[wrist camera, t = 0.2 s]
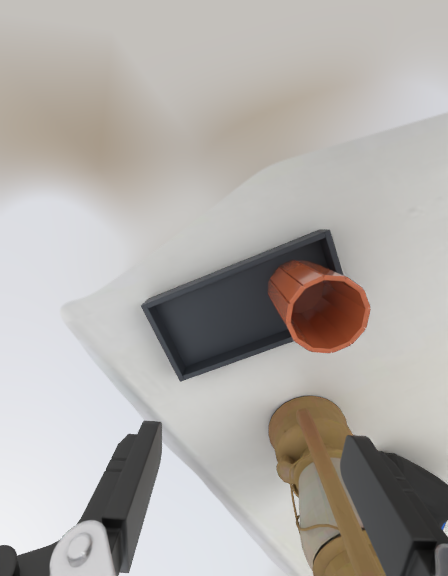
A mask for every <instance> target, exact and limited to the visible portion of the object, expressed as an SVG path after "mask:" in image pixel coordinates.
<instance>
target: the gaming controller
mask: <svg viewBox="0 0 448 576" xmlns="http://www.w3.org/2000/svg"><path fill="white" fill-rule="evenodd" d="M386 455H387V456H388V457H389V458H390V459H391V460H392V461H393V462H394V463H395V464H396V465H397V466H398V468H399V469H400V471H401V472H402V473H403V475H404V476H405V478H406V481H408V482H409V483H410V485H411V486H412V488H413V489H414V492H415V493H417V495H418V496H419V497H420V499H421V500H422V502H423V503H424V505H425V506H426V507H427V509H428V510H429V512H430V513H431V514H432V516H433V517H434V519H435V520H436V522H437V523H438V524H439V526H440V527H441V529H442V530H443V528H444V526H445V524H446V522H447V520H448V485H447V484H446V483H445V482H443V481H442V480H441V479H439V478H438V477H436V476H435V475H433V474H432V473H430V472H428V471H427V470H425V469H423V468H422V467H420V466H418V465H416V464H414V463H412V462H410V461H408V460H406V459H404V458H402V457H400V456H398V455H396V454H394V453H389V454H386Z"/></svg>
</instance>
